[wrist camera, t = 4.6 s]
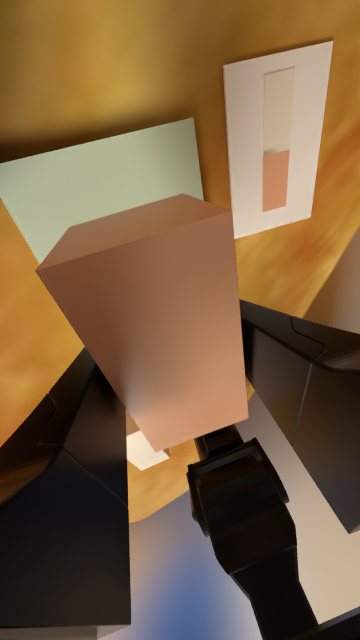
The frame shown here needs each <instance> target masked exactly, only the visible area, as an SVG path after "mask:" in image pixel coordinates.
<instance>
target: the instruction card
mask: <svg viewBox="0 0 360 640" xmlns="http://www.w3.org/2000/svg"><path fill="white" fill-rule="evenodd" d="M332 48H333V41H330V42H325V43H321V44H316V45H312V46H307V47H303V48H298V49H294V50H289V51H285V52H280V53H276V54H271V55H267V56H262V57H258V58H253V59H249V60H244V61H240V62H235V63H231V64H226V65H223V82H224V98H225V114H226V130H227V146H228V162H229V178H230V194H231V210H232V215H233V227H234V239H237V238H240V237H244V236H247V235H251V234H254V233H258V232H261V231H265V230H268V229H272V228H275V227H279V226H282V225H285V224H289V223H292V222H296V221H299V220H303V219H306V218H310V217H311V211H312V203H313V195H314V187H315V180H316V172H317V164H318V157H319V149H320V141H321V133H322V126H323V118H324V110H325V102H326V95H327V87H328V79H329V71H330V64H331V56H332Z"/></svg>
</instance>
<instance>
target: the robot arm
mask: <svg viewBox="0 0 360 640" xmlns="http://www.w3.org/2000/svg"><path fill="white" fill-rule="evenodd" d="M239 304H240V317H241V330H242V342H243V355H244V368H245V375H246V377H247V378H248V380H249V381H250V383H251V384H252V386H253V387H254V389H255V391H256V392H257V394H258V395H259V397H260V398H261V399H262V401H263V403H264V404H265V406H266V407H267V409H268V411H269V412H270V413H271V415H272V417H273V418H274V420H275V421H276V423H277V424H278V426H279V428H280V429H281V430H282V432H283V434H284V435H285V437H286V438H287V440H288V441H289V443H290V445H291V446H292V447H293V449H294V451H295V452H296V454H297V455H298V457H299V459H300V460H301V462H302V463H303V465H304V466H305V468H306V469H307V471H308V473H309V474H310V476H311V477H312V479H313V480H314V482H315V483H316V485H317V486H318V488H319V490H320V491H321V493H322V494H323V496H324V497H325V499H326V500H327V502H328V503H329V505H330V506H331V508H332V509H333V511H334V513H335V514H336V516H337V517H338V519H339V520H340V522H341V523H342V525H343V526H344V527H345V529H346V531H347V532H348V533H349V534H351V533H353V532H356V531H358V530H360V334H357V333H353V332H349V331H345V330H341V329H337V328H333V327H329V326H325V325H321V324H317V323H314V322H311V321H307V320H304V319H301V318H298V317H294V316H292V317H291V315H288V314H285V313H282V312H279V311H275V310H272V309H269V308H266V307H263V306H260V305H257V304H253V303H250V302H247V301H244V300H241V299H239ZM194 441H195V445H196V448H197V451H198V455H199V458H200V461H199V462H197V463H194V464H190V465H188V472H187V473H186V475H187V479H188V483H189V488H190V497H191V509H192V516H193V519H194V520H195V521H196V522H198V523H199V525H200V527H201V529H202V531H203V533H204V535H205V537H208V536H210V539H211V542H212V546H213V549H214V552H215V556H216V558H217V560H218V562H219V563H220V565H221V566H222V568H223V569H224V570H225V572H226V573H227V574H228V575H230V576H231V577H232V579H233V580H234V581H235V583H236V584H237V585H238V586H239V588H240V589H241V590H242V591H243V593H244V594H245V595H246V596H247V598H248V599H249V600H250V602H251V605H252V608H253V611H254V614H255V617H256V620H257V623H258V626H259V629H260V633H261V636H262V639H263V640H360V606H359V607H357V608H355V609H353V610H351V611H349V612H346V613H344V614H342V615H340V616H337V617H335V618H333V619H331V620H328V621H326V622H324V623H322V624H318V622H317V620H316V618H315V615H314V613H313V611H312V608H311V606H310V604H309V602H308V600H307V597H306V595H305V593H304V590H303V588H302V586H301V584H300V581H299V575H298V560H297V539H296V529H295V524H294V522H293V519H292V517H291V515H290V513H289V511H288V509H287V507H286V505H285V504H286V503H288V502H289V498H288V496H287V493H286V490H285V488H284V486H283V484H282V482H281V480H280V478H279V476H278V474H277V472H276V470H275V468H274V467H273V465H272V463H271V462H270V460H269V459H268V457H267V455H266V453H265V452H264V450H263V449H262V447H261V445H260V443H259V442H258V440H257V439H256V437H255V438H253V439H252V440H250V441H248V442H245V443H244V442H243V440H242V438H241V435H240V433H239V431H238V429H237V427H236V425H235V423H234V424H231V425H229V426H226V427H223V428H221V429H218V430H215V431H213V432H210V433H207V434H204V435H202V436H199V437H196V438H194ZM129 555H130V554H129V514H128V479H127V438H126V407H125V406H124V404H123V403H122V401H121V400H120V398H119V397H118V395H117V394H116V392H115V391H114V389H113V388H112V386H111V385H110V383H109V382H108V380H107V379H106V377H105V376H104V374H103V373H102V371H101V370H100V368H99V367H98V365H97V364H96V362H95V360H94V359H93V357H92V356H91V354H90V353H89V351H88V350H87V348H86V347H84V349H83V350H82V351H81V352H80V354H79V355H78V356H77V357H76V359H75V360H74V361H73V362H72V363H71V365H70V366H69V367H68V368H67V370H66V371H65V372H64V373H63V375H62V376H61V377H60V378H59V380H58V381H57V382H56V383H55V385H54V386H53V387H52V388H51V390H50V391H49V393H48V394H46V396H45V397H44V398H43V399H42V401H41V402H40V403H39V404H38V406H37V407H36V408H35V409H34V410H33V412H32V413H31V414H30V415H29V416H28V417H27V419H26V420H25V421H24V422H23V423H22V424H21V425H20V426H19V428H18V429H17V430H16V431H15V432H14V433H13V434H12V435H11V436H10V437H9V438H8V440H7V441H6V442H5V443H4V444H3V445H2V446H1V447H0V640H97V639H99V638H101V637H103V636H106V635H108V634H111V633H113V632H115V631H118V630H120V629H123V628H125V627H127V626H130V625H131V594H130V557H129Z"/></svg>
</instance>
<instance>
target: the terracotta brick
mask: <svg viewBox="0 0 360 640" xmlns="http://www.w3.org/2000/svg"><path fill="white" fill-rule="evenodd" d="M36 273H37V274H38V276H39V277H40V279H41V280H42V282H43V283H44V285H45V286H46V288H47V289H48V291H49V292H50V294H51V295H52V297H53V298H54V300H55V302H56V303H57V305H58V306H59V308H60V309H61V311H62V312H63V314H64V315H65V317H66V318H67V320H68V321H69V323H70V324H71V326H72V327H73V329H74V330H75V332H76V333H77V335H78V336H79V338H80V339H81V341H82V342H83V344H84V345H85V347H86V348H87V350H88V351H89V353H90V354H91V356H92V357H93V359H94V360H95V362H96V364H97V365H98V367H99V368H100V370H101V371H102V373H103V374H104V376H105V377H106V379H107V380H108V382H109V383H110V385H111V386H112V388H113V389H114V391H115V392H116V394H117V395H118V397H119V398H120V400H121V401H122V403H123V404H124V406H125V407H126V409H127V410H128V412H129V413H130V415H131V416H132V418H133V419H134V421H135V422H136V424H137V426H138V427H139V429H140V430H141V432H142V433H143V435H144V436H145V438H146V439H147V441H148V442H149V444H150V445H151V447H152V448H153V450H154V451H155V453H156V452H159V451H161V450H164V449H167V448H170V447H172V446H175V445H178V444H180V443H183V442H186V441H188V440H191V439H194V438H196V437H199V436H202V435H204V434H207V433H210V432H213V431H215V430H218V429H221V428H223V427H226V426H229V425H231V424H234V423H237V422H239V421H242V420H245V419H247V418H248V407H247V394H246V381H245V368H244V355H243V342H242V330H241V317H240V304H239V291H238V278H237V266H236V253H235V240H234V227H233V215H232V210H229V209H226V208H223V207H221V206H218V205H215V204H212V203H209V202H206V201H204V200H201V199H198V198H195V197H192V196H190V195H187V194H184V193H182V194H178V195H175V196H172V197H168V198H165V199H162V200H158V201H155V202H151V203H148V204H145V205H141V206H138V207H135V208H131V209H128V210H124V211H121V212H118V213H114V214H111V215H108V216H104V217H101V218H97V219H94V220H91V221H87V222H84V223H81V224H77V225H74V226H70V227H69V228H68V229H67V230H66V232H65V233H64V234H63V236H62V237H61V238H60V240H59V241H58V242H57V243H56V245H55V246H54V247H53V249H52V250H51V251H50V252H49V254H48V255H47V256H46V258H45V259H44V260H43V262H42V263H41V264H40V265H39V267H38V268H37V269H36Z"/></svg>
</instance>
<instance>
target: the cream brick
mask: <svg viewBox="0 0 360 640" xmlns="http://www.w3.org/2000/svg"><path fill="white" fill-rule="evenodd" d="M126 438H127V460H128V461H130V462H131V463H132V464H134V465H135V466H136V467H137V468H139V469H140V470H141V471H142V470H144V469H146V468H149V467H151V466H153V465H155V464H158V463H160V462H162V461H164V460H167V459H169V458H170V455H169V450H168V448H167V449H164V450H161V451H159V452H156V453H155V451H154V450H153V448H152V447H151V445H150V444H149V442H148V441H147V439H146V438H145V436H144V435H143V433H142V432H141V430H140V429H139V427H138V426H137V424H136V422H135V421H134V419H133V418H132V416H131V415H130V413H129V412H128V410H127V409H126Z"/></svg>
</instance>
